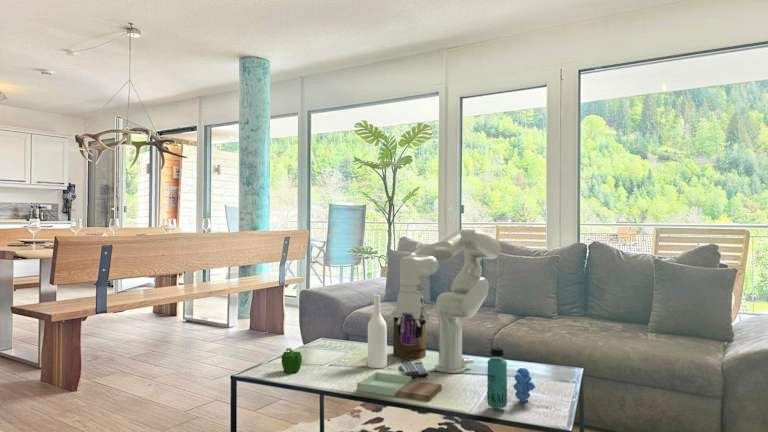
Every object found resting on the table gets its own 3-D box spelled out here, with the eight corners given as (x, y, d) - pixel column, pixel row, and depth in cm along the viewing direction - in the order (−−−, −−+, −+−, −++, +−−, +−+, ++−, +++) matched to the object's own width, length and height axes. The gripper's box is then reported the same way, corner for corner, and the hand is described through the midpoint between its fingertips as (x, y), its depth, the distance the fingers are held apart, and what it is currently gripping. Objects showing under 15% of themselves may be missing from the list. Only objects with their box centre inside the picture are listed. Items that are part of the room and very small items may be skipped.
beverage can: (417, 346, 194) (417, 314, 195) (398, 345, 196) (398, 313, 196) (420, 342, 201) (420, 311, 201) (402, 341, 203) (402, 310, 203)
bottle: (388, 363, 224) (388, 293, 224) (384, 369, 216) (383, 296, 216) (370, 362, 226) (370, 293, 226) (365, 367, 218) (365, 296, 218)
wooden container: (431, 354, 239) (431, 306, 239) (415, 361, 227) (415, 311, 227) (403, 349, 247) (403, 303, 247) (386, 356, 235) (386, 308, 235)
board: (441, 389, 189) (441, 384, 189) (429, 401, 178) (429, 395, 178) (411, 385, 195) (411, 380, 195) (397, 396, 183) (397, 390, 183)
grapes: (529, 410, 169) (529, 373, 169) (509, 405, 173) (509, 369, 173) (541, 399, 179) (540, 364, 179) (521, 395, 183) (521, 361, 183)
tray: (411, 384, 196) (411, 376, 196) (395, 397, 182) (395, 388, 182) (375, 379, 202) (375, 371, 202) (357, 391, 189) (357, 382, 189)
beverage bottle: (492, 404, 175) (492, 344, 175) (511, 408, 171) (510, 347, 171) (483, 409, 170) (483, 348, 170) (502, 414, 166) (501, 351, 166)
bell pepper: (296, 367, 219) (296, 343, 219) (304, 372, 212) (304, 348, 212) (277, 371, 214) (277, 346, 214) (285, 376, 207) (285, 351, 207)
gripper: (434, 289, 198) (434, 336, 198) (394, 286, 206) (394, 331, 206) (427, 291, 192) (427, 340, 191) (385, 288, 200) (385, 335, 200)
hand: (410, 335), depth 199 cm, fingers closed on beverage can, 6 cm apart
